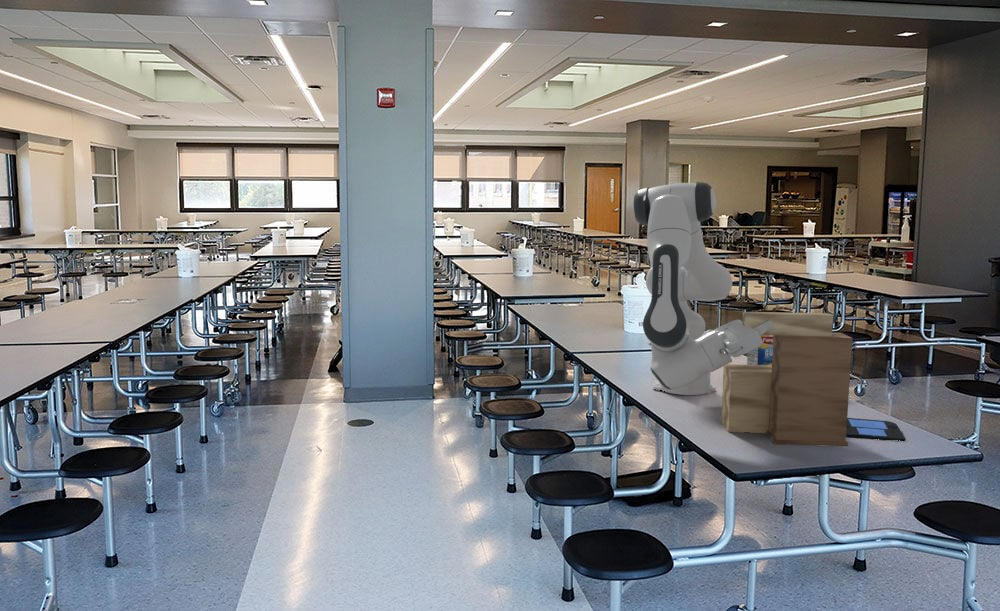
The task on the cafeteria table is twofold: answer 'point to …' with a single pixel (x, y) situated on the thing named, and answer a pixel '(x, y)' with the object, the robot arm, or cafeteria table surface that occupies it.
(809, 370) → the walnut block
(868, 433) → the game console
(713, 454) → the cafeteria table surface
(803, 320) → the maple batten
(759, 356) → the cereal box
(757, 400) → the oak stand
